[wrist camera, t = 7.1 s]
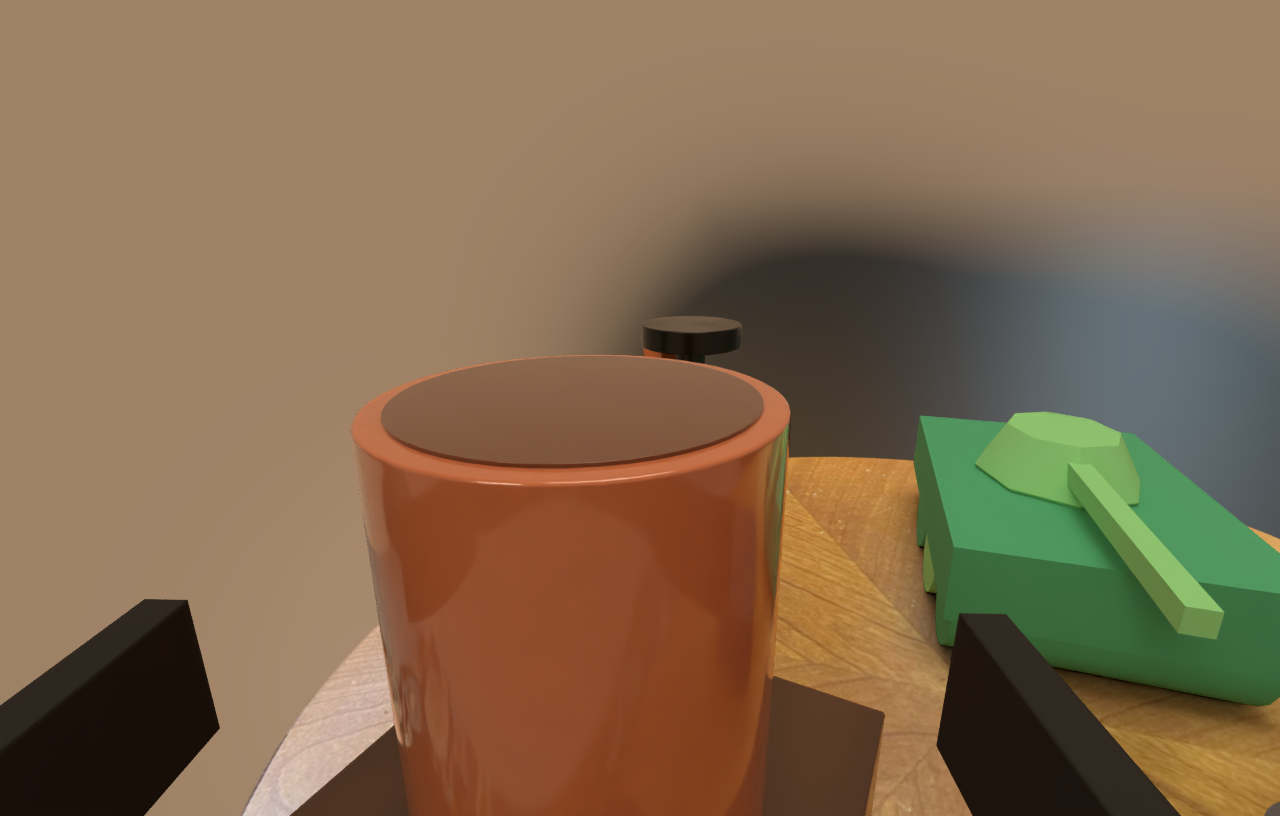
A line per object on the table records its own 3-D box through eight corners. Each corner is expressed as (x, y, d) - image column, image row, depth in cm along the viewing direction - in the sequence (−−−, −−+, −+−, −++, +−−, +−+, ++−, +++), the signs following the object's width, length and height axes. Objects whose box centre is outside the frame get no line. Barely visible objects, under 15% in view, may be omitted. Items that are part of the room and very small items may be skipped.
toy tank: (985, 555, 29) (924, 379, 61) (950, 763, 33) (909, 494, 64) (1513, 632, 23) (1142, 393, 55) (1400, 874, 27) (1112, 519, 58)
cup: (331, 862, 14) (242, 423, 11) (552, 643, 20) (535, 341, 17) (674, 1100, 10) (683, 529, 7) (801, 734, 17) (833, 372, 14)
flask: (768, 602, 46) (786, 328, 40) (661, 635, 42) (662, 340, 36) (706, 546, 54) (712, 310, 48) (610, 571, 50) (604, 319, 44)
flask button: (685, 362, 46) (685, 340, 45) (661, 365, 45) (661, 343, 44) (666, 354, 48) (666, 334, 48) (643, 357, 47) (643, 336, 47)
